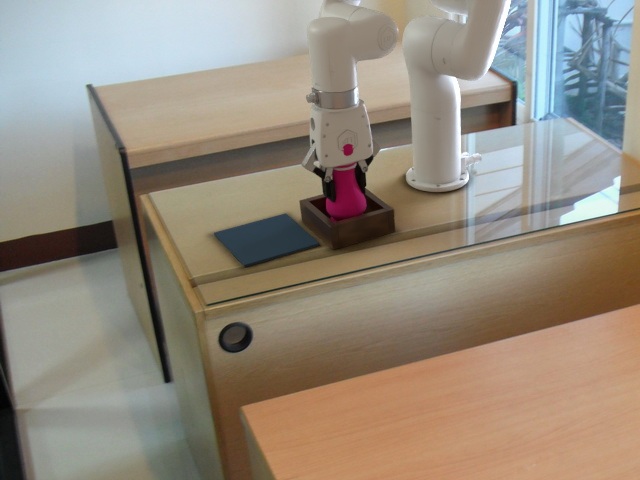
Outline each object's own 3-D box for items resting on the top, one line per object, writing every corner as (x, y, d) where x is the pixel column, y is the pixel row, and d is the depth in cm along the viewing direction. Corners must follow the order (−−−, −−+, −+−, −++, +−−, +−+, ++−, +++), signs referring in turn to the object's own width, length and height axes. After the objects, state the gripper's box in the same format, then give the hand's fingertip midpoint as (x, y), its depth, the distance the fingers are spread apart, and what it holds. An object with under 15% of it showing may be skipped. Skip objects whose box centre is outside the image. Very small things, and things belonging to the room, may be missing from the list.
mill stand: (362, 205, 179) (360, 184, 177) (395, 231, 171) (394, 209, 168) (301, 222, 173) (299, 200, 171) (332, 250, 165) (330, 227, 162)
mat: (286, 215, 175) (285, 213, 175) (319, 245, 166) (319, 243, 166) (214, 235, 169) (213, 232, 169) (244, 267, 160) (244, 264, 159)
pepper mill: (371, 219, 175) (363, 115, 163) (363, 237, 169) (354, 131, 157) (333, 217, 175) (323, 113, 163) (324, 235, 169) (312, 128, 158)
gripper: (299, 113, 151) (311, 215, 162) (391, 92, 159) (397, 191, 170) (279, 99, 156) (292, 199, 167) (370, 80, 164) (377, 176, 175)
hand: (345, 194), depth 168 cm, fingers open, 5 cm apart
